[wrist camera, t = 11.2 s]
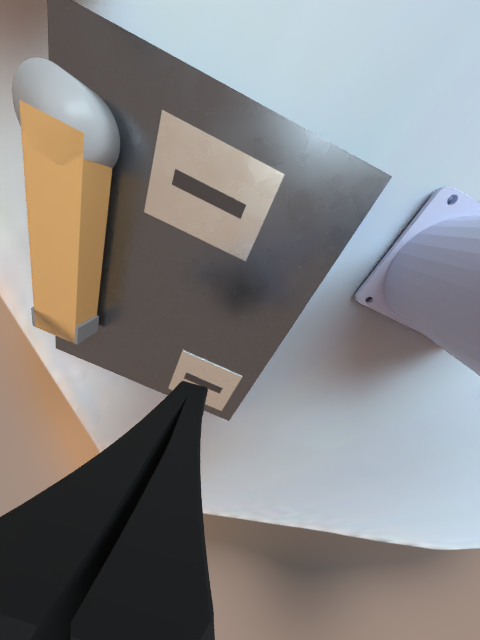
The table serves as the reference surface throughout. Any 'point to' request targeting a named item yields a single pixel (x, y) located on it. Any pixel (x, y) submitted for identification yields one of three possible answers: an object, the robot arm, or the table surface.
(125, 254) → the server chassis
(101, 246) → the tan grey headed bar
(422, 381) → the table surface
